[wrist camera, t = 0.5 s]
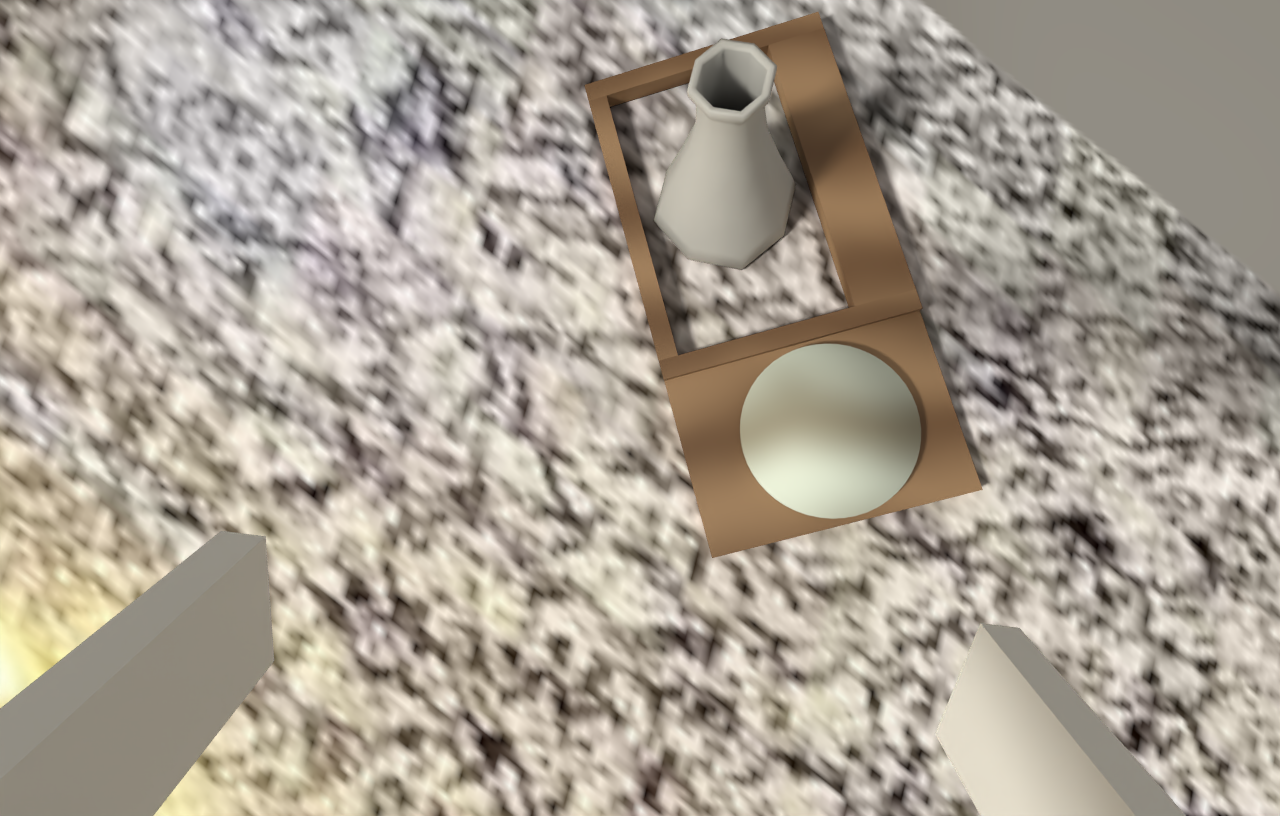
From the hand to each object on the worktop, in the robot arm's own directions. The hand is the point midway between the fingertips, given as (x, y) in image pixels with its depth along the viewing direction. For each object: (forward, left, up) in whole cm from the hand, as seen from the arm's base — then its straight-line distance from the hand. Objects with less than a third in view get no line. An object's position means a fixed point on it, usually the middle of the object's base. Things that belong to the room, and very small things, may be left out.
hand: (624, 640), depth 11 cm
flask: (+17, -7, -19) cm, 26 cm away
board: (+12, -8, -19) cm, 24 cm away
